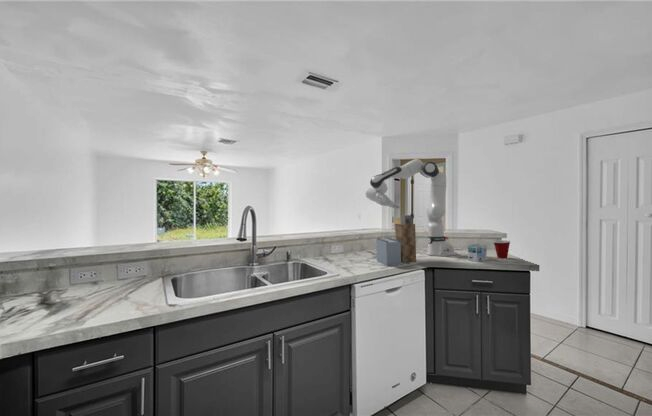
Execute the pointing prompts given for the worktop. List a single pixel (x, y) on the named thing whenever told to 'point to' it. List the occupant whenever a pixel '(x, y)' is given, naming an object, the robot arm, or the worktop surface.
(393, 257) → the slate ledge
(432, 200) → the robot arm
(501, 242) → the plastic cup
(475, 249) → the light bulb box
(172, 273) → the worktop surface
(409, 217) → the ochre bar
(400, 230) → the walnut post
